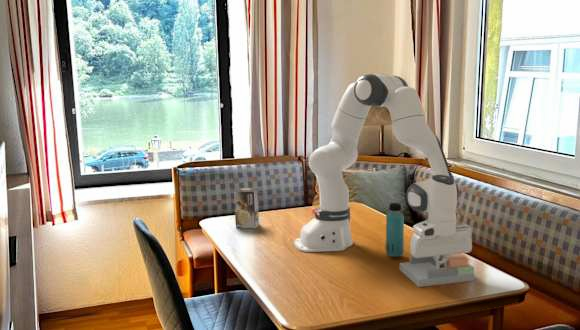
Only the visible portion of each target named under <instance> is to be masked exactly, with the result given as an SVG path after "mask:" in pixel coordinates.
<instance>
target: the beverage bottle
mask: <svg viewBox="0 0 580 330" xmlns="http://www.w3.org/2000/svg"><path fill="white" fill-rule="evenodd" d="M389 211H390V212H388V213H387V214H386V216H385V217H386V218H385V220H386V222H385V224H386V225H385V231H386V232H385V233H386V235H385V253H386V255H388V257H402V256H403V255H404V251H405V246H404V245H405V242H404V241H405V238H404V235H405V234H404V233H405V232H404V228H405V226H404V225H405V224H404V223H405V219H404V218H405V215H404V214H403V213H402V212H401V211H402V205H401V203H399V202H391V203H389Z"/></svg>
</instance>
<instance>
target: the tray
mask: <svg viewBox="0 0 580 330" xmlns="http://www.w3.org/2000/svg"><path fill="white" fill-rule="evenodd" d="M442 259H443V255H441V256H440V258H439V259H438V260H439V261H442ZM408 260H409V261H407V262H406V261H405V262H400V263H399V271H400V272H401V273H403V275H405V276H406V277H407V278H408V279H409V280H410V281H412V282H413V283H414V284H415V285H416V286H417V287H419V288H420V287H428V286H430V287H431V286H438V285H439V286H440V285H447V284H456V283H462V282H463V283H464V282H473V281H474V279H475V278H474V277H475V267H474V266H473V265H471V264H470V263H468V266H466V267H457V268H448V269H443V268H436V262H435V260H434V258H433V256H431V257H422V258H415V257H414V256H413V255H411V256H409V258H408Z"/></svg>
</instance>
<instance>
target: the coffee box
mask: <svg viewBox="0 0 580 330" xmlns="http://www.w3.org/2000/svg"><path fill="white" fill-rule="evenodd" d="M233 198H234V199H233V201H234V219H235V228H236V227H242V228H241V229H257V228H258V227H259V226H260V217H259V216H260V215H259V213H260V212H259V194H258V188H250V187H249V188H246V187H245V188H244V187H237V188H235V190H234V191H233Z"/></svg>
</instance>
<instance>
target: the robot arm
mask: <svg viewBox="0 0 580 330" xmlns="http://www.w3.org/2000/svg"><path fill="white" fill-rule="evenodd" d="M372 107H379V108H380V107H382V108H383V107H386V109H388V111H389V115H390V119H391V126H392V130H393V134H394V136H395V138H396V140H397V141H398V142H399V143H400V144H402V145H404V146H406V147H408V148H413V149H414V150H418V151H419V152H422V153H423V154H424V155H425V156H426V158H427V161H428V164H429V166H430V169H431V172H432V176H430V178H428V179H426V180H422V181H418V182H414V183H411V184H410V185H409V187H408V188H407V191H406V201H407V204H408V206H409V207H410V208H411V209H412V210H413V211H416V212H426V213H427V218H426V219H425V220H423V221H420V222H418V223H416V224H414V225H413V226H412V230H413V233H412V235H411V237H410V238H411V239H410V246H409V252H410V255H411V256H414V257H415V258H422V257H431V256H433V258H434V260H435V262H436V268H446V262H447V261H448V259H449V255H450V254H468V253H471V252H472V250H473V242H472V241H473V240H472V234H473V233H472V227H471V226H470V225H468V224H467V223H463V224H457V213H456V210H457V206H458V205H457V204H458V201H459V198H460V188H459V186H458V183H457V182H456V180H455V178H454V177H453V174H452V171H451V169H450V166H449V163H448V160H447V158H446V155H445V152H444V150H443V146H442V144H441V142H440V139H439V138H438V136H437V135H436V133H435V132H433V131H432V129H431V127H430V126H429V124H428V122H427V120H426V115H425V110H424V106H423V104H422V101H421V99H420V96H419V94H418V92H417V90H416V89H415V88H414V87H411V86H409V85H408V83H407V81H406V80H405V79H403V78H402V77H400V76H397V75H390V74H385V73H382V74H373V73H371V74H370V73H368V74H364V75H361V76H359V78H358V79H357V80H356V82H355V81H354V82H352V83H350V84H349V85H348V87H347V88H346V89H345V91H344V93H343V95H342V97H341V99H340V101H339V104H338V106H337V108H336V111H335V112H334V113H335V114H334V116H333V119H332V122H331V125H330V127H331V130H332V132H331V133H332V134H331V139H330V141H329V143H328V144H326V145H322V146H319V147H318V148H316V149H315V150H314V151H312V152H311V154H310V155H309V157H308V166H309V169H310V171H311V172H312V173H314V175H315V177H316V181H317V185H318V192H319V207H318V208H316V207H312V208H311V210H310V211H311V212H312V214H314V218H312V219H311V220H309V222H307V223H306V224H305V225H303V226H302V228H301V231H300V235H299V237H298V238H295V239H294V243H293V244H294V246H295V248H296V249H297V250H299V251H300V252H301V251H302V252H304V253H314V252H315V253H318V252H320V253H321V252H342V251H345V250H346V249H347V248H349V247H352V245H353V244H354V240H353V237H352V234H351V227H350V226H351V225H350V222H351V208H350V207H349V206H350V204H349V203H350V201H349V200H350V199H349V198H350V197H349V193H350V192H349V186H348V185H347V184H346V182H345V180H344V176H343V175H344V174H343V171H344V170H347V169H349V168H351V166H353V165H354V163H355V162H356V161H357V160H358V156H359V153H358V149H357V148H358V143H359V138H360V136H361V135H360V134H361V132H362V129H363V127H364V125H365V122H366V120H367V118H368V115H369V112H370V109H371V108H372ZM441 255H443V256H444V257H443V259H442V261H439V260H438V259H439V258H440V256H441Z"/></svg>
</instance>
